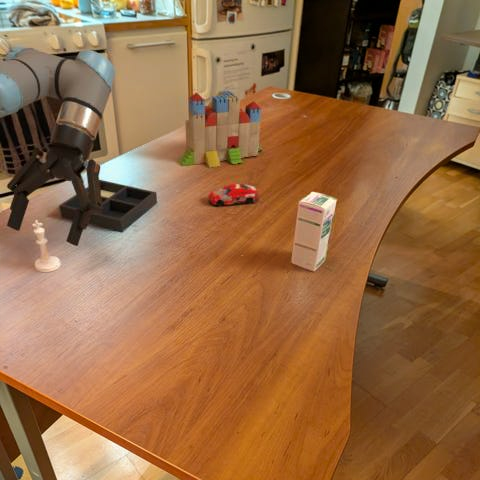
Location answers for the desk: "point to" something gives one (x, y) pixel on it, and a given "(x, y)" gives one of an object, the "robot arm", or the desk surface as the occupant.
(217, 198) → the race car
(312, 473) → the desk surface
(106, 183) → the grid
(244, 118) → the block set
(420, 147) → the desk surface
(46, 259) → the chess piece
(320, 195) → the syrup box
